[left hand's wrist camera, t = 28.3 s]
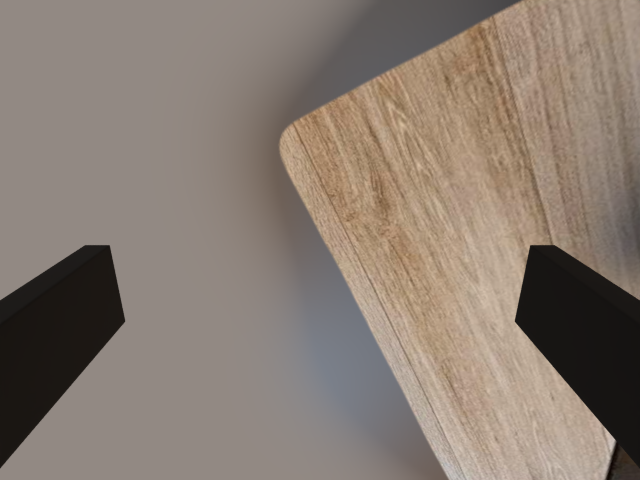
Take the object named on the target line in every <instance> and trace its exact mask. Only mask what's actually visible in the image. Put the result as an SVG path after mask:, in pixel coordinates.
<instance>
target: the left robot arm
mask: <svg viewBox="0 0 640 480" xmlns="http://www.w3.org/2000/svg"><path fill="white" fill-rule="evenodd" d="M124 322H125V318H124V313H123V308H122V303H121V298H120V293H119V289H118V284H117V279H116V274H115V269H114V264H113V259H112V254H111V250H110V246H109V245H85V246H83V247H82V248H80V249H79V250H77V251H76V252H74V253H72V254H71V255H69V256H68V257H66V258H65V259H63V260H62V261H60V262H59V263H57V264H56V265H54V266H52V267H51V268H49V269H48V270H46V271H45V272H43V273H42V274H40V275H39V276H37V277H35V278H34V279H33V280H31V281H29V282H28V283H26V284H25V285H23V286H22V287H20V288H19V289H17V290H15V291H14V292H12V293H11V294H9V295H8V296H6V297H5V298H3V299H2V300H0V468H1V467H2V466H3V464H4V463H5V462H6V461H7V460H8V459H9V457H10V456H11V455H12V454H13V453H14V451H15V450H16V449H17V448H18V447H19V446H20V444H21V443H22V442H23V441H24V440H25V439H26V437H27V436H28V435H29V434H30V433H31V431H32V430H33V429H34V428H35V427H36V426H37V425H38V423H39V422H40V421H41V420H42V419H43V417H44V416H45V415H46V414H47V413H48V412H49V410H50V409H51V408H52V407H53V406H54V404H55V403H56V402H57V401H58V400H59V399H60V397H61V396H62V395H63V394H64V393H65V392H66V390H67V389H68V388H69V387H70V386H71V385H72V383H73V382H74V381H75V380H76V379H77V377H78V376H79V375H80V374H81V373H82V372H83V370H84V369H85V368H86V367H87V366H88V365H89V363H90V362H91V361H92V360H93V359H94V358H95V356H96V355H97V354H98V353H99V352H100V350H101V349H102V348H103V347H104V346H105V345H106V343H107V342H108V341H109V340H110V339H111V338H112V336H113V335H114V334H115V333H116V332H117V331H118V329H119V328H120V327H121V326H122V325H123V323H124ZM515 322H516V323H517V325H518V326H519V327H520V328H521V329H522V331H523V332H524V333H525V334H526V335H527V336H528V338H529V339H530V340H531V341H532V342H533V343H534V345H535V346H536V347H537V348H538V349H539V351H540V352H541V353H542V354H543V355H544V356H545V358H546V359H547V360H548V361H549V362H550V363H551V365H552V366H553V367H554V368H555V369H556V370H557V372H558V373H559V374H560V375H561V376H562V378H563V379H564V380H565V381H566V382H567V383H568V385H569V386H570V387H571V388H572V389H573V390H574V392H575V393H576V394H577V395H578V396H579V397H580V399H581V400H582V401H583V402H584V403H585V405H586V406H587V407H588V408H589V409H590V410H591V412H592V413H593V414H594V415H595V416H596V417H597V419H598V420H599V421H600V422H601V423H602V425H603V426H604V427H605V428H606V429H607V430H608V432H609V433H610V434H611V435H612V436H613V437H614V439H615V440H616V441H617V442H618V443H619V444H620V446H621V447H622V448H623V449H624V450H625V452H626V453H627V454H628V455H629V456H630V457H631V459H632V460H633V461H634V462H635V463H636V464H637V466H638V467H639V468H640V300H638V299H637V298H635V297H634V296H632V295H631V294H629V293H628V292H626V291H625V290H623V289H621V288H620V287H618V286H617V285H615V284H614V283H612V282H611V281H609V280H608V279H606V278H605V277H603V276H601V275H600V274H598V273H597V272H595V271H594V270H592V269H591V268H589V267H588V266H586V265H584V264H583V263H581V262H580V261H578V260H577V259H575V258H574V257H572V256H571V255H569V254H568V253H566V252H564V251H563V250H561V249H560V248H558V247H557V246H555V245H530V249H529V254H528V259H527V264H526V269H525V274H524V279H523V284H522V288H521V293H520V298H519V303H518V308H517V313H516V318H515Z"/></svg>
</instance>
